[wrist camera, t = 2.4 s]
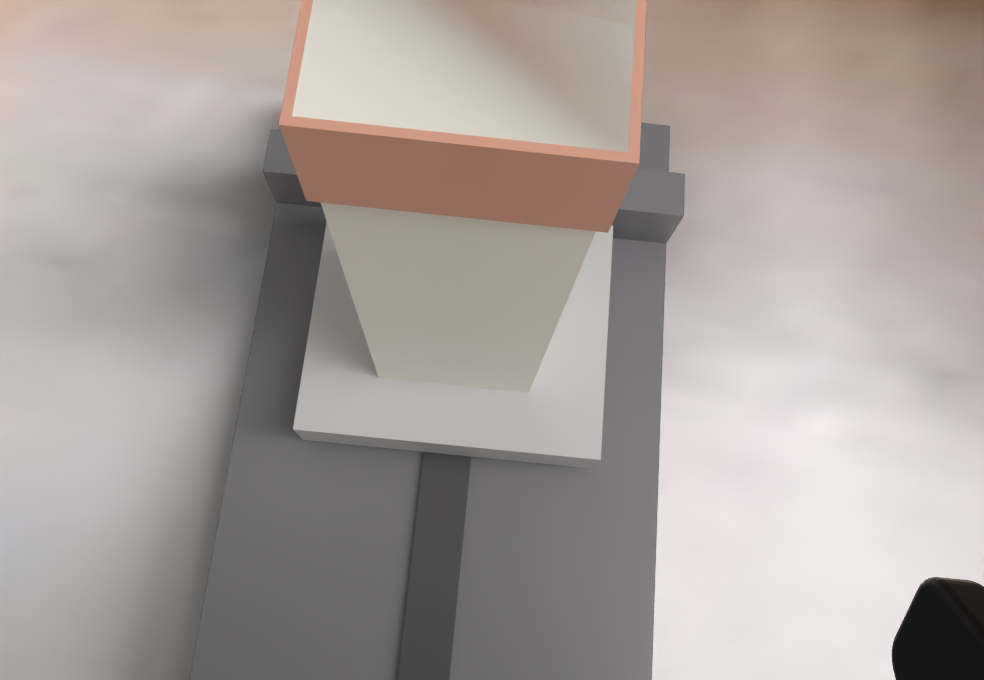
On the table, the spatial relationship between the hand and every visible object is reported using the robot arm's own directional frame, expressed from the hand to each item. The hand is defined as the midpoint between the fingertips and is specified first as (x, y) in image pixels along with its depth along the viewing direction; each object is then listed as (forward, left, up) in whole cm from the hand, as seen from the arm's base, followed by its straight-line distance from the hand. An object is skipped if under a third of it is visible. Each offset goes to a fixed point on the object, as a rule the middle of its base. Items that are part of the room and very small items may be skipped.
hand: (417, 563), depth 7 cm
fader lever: (+4, +2, -10) cm, 11 cm away
